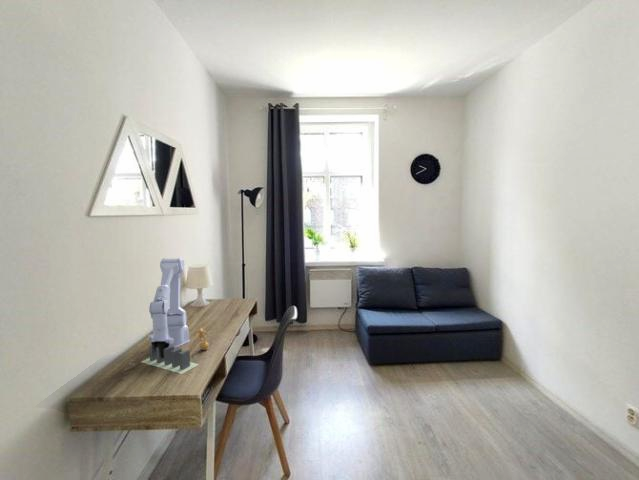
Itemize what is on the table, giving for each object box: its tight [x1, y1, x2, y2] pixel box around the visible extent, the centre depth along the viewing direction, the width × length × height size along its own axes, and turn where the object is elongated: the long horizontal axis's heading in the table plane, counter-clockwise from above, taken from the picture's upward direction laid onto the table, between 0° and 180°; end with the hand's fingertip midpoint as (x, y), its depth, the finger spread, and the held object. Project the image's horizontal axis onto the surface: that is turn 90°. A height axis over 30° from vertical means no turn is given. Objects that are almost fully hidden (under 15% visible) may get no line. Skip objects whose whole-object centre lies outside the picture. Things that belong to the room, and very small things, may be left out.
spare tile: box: [156, 347, 164, 363], centre depth 138 cm, size 2×4×7 cm, turn 154°
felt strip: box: [141, 357, 199, 375], centre depth 137 cm, size 9×26×1 cm, turn 64°
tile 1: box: [148, 344, 157, 361], centre depth 141 cm, size 2×4×7 cm, turn 154°
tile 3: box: [164, 346, 175, 365], centre depth 136 cm, size 2×4×7 cm, turn 154°
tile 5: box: [179, 349, 191, 370], centre depth 132 cm, size 2×4×7 cm, turn 154°
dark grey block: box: [171, 347, 183, 368], centre depth 134 cm, size 2×4×7 cm, turn 154°
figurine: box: [193, 327, 211, 351], centre depth 149 cm, size 8×6×12 cm
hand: (162, 356), depth 139 cm, fingers closed on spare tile, 2 cm apart
